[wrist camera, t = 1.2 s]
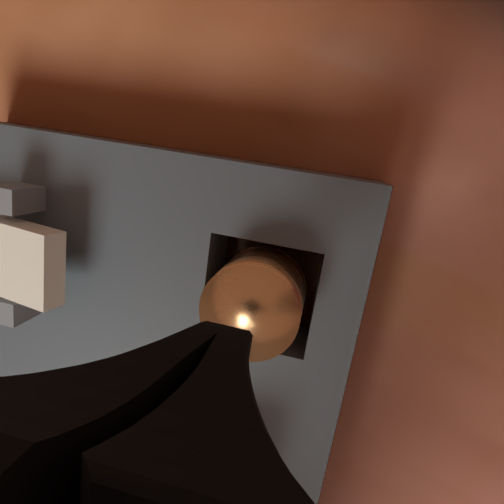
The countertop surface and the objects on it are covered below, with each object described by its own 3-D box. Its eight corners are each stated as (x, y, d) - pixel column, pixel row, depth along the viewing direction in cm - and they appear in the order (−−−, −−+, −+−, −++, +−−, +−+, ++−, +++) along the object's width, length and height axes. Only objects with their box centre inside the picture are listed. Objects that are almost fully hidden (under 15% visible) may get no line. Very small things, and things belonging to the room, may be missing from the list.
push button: (298, 335, 17) (290, 372, 14) (217, 317, 17) (193, 349, 14) (313, 255, 16) (308, 276, 13) (227, 238, 16) (205, 255, 14)
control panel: (305, 520, 21) (296, 621, 16) (11, 431, 24) (-66, 495, 19) (383, 181, 16) (401, 190, 12) (6, 122, 19) (-97, 110, 15)
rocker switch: (64, 304, 16) (40, 313, 15) (-23, 273, 17) (-50, 280, 16) (66, 231, 15) (41, 236, 14) (-25, 206, 17) (-54, 209, 16)
